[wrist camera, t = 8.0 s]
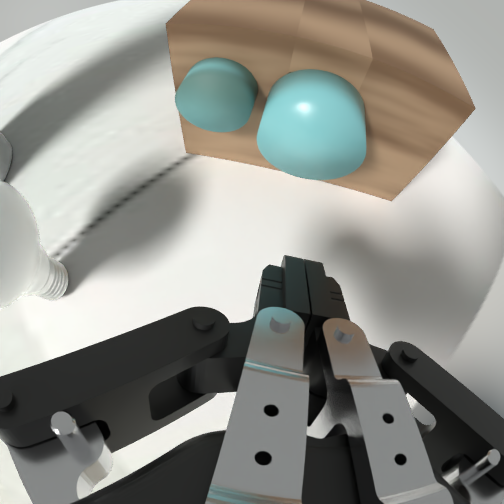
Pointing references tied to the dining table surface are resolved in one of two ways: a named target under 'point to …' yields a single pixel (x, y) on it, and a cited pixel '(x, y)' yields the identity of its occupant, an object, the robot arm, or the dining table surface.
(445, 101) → the mount
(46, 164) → the dining table surface
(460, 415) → the robot arm
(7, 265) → the lightbulb
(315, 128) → the knob
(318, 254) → the dining table surface
